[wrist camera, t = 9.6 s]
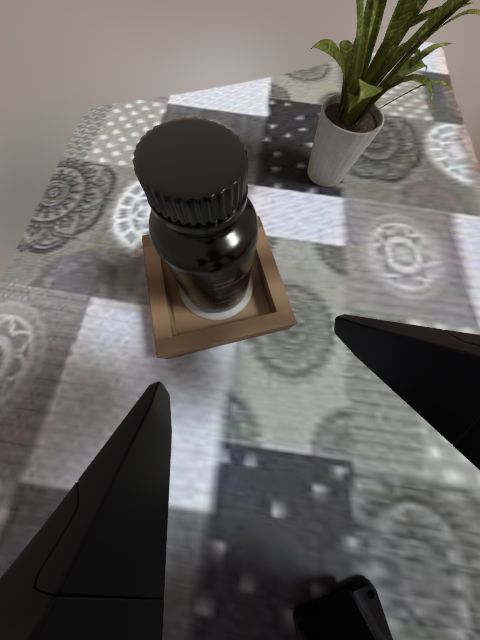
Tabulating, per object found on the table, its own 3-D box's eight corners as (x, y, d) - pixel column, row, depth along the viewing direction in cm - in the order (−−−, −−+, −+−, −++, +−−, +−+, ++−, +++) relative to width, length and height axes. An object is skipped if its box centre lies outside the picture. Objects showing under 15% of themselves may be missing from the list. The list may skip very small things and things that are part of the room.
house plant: (368, 232, 22) (688, -84, 7) (268, 203, 23) (344, -148, 7) (378, 160, 26) (596, -150, 10) (291, 137, 27) (375, -189, 11)
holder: (288, 328, 18) (296, 323, 16) (167, 358, 17) (157, 357, 15) (256, 231, 22) (259, 215, 19) (152, 250, 20) (141, 235, 18)
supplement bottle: (172, 282, 18) (70, 141, 7) (220, 247, 20) (202, 82, 8) (213, 328, 17) (172, 250, 6) (261, 288, 19) (306, 160, 7)
